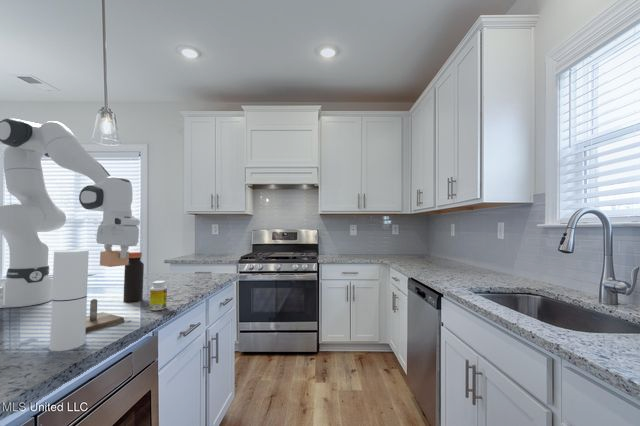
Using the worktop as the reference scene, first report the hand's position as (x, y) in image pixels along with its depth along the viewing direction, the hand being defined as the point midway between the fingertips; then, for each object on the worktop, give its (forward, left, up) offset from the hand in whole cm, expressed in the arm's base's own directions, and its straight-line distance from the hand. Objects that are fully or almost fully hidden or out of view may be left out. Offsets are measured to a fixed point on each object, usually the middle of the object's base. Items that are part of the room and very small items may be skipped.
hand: (115, 257), depth 111 cm
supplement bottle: (+12, +9, -20) cm, 25 cm away
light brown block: (0, 0, -3) cm, 3 cm away
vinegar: (-8, +12, -20) cm, 24 cm away
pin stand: (+10, -12, -20) cm, 25 cm away
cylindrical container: (+22, -24, -20) cm, 38 cm away
